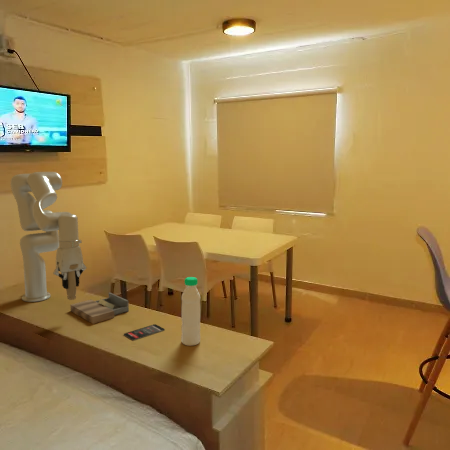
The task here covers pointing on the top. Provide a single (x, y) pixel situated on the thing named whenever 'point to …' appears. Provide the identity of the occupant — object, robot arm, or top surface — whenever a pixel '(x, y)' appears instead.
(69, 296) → the handle
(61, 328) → the top surface
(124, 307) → the box
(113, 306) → the tile
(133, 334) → the smartphone
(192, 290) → the water bottle
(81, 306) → the board
